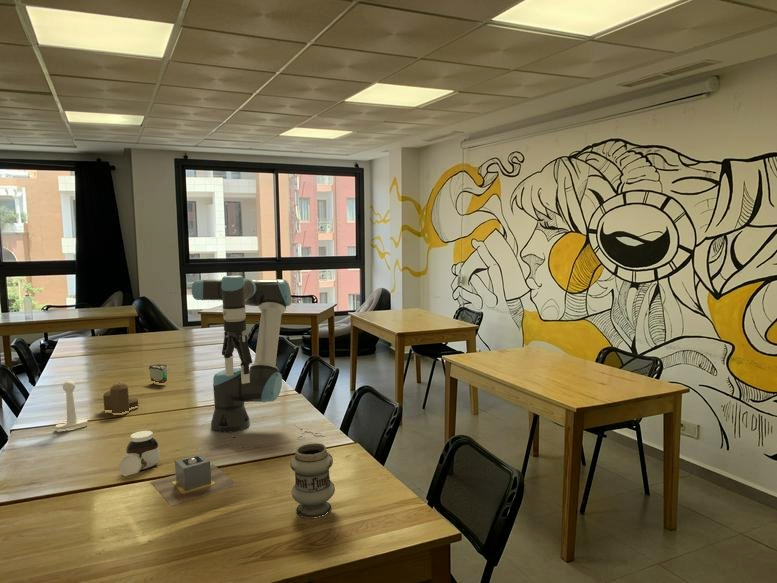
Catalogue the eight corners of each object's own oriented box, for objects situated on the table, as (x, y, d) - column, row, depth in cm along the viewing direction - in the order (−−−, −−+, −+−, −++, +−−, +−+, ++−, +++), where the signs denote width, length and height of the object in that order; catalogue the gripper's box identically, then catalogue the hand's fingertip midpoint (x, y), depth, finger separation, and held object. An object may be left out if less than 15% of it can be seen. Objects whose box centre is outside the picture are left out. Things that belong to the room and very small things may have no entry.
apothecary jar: (283, 510, 153) (281, 448, 151) (317, 495, 162) (315, 436, 160) (309, 525, 145) (306, 460, 143) (344, 509, 153) (342, 447, 151)
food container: (174, 384, 288) (173, 365, 287) (164, 386, 282) (163, 368, 281) (159, 381, 294) (158, 362, 293) (149, 383, 289) (148, 365, 288)
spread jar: (160, 460, 189) (158, 428, 187) (159, 473, 178) (157, 439, 177) (122, 466, 184) (119, 433, 183) (118, 480, 174) (116, 445, 173)
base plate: (150, 486, 169) (150, 481, 169) (213, 468, 182) (212, 463, 181) (171, 511, 154) (170, 505, 153) (238, 489, 166) (237, 484, 166)
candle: (137, 413, 240) (135, 380, 239) (103, 418, 235) (100, 384, 233) (138, 405, 253) (136, 373, 251) (105, 409, 247) (103, 377, 246)
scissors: (298, 441, 204) (284, 424, 222) (298, 443, 204) (284, 426, 222) (325, 436, 208) (309, 420, 226) (325, 437, 209) (309, 421, 226)
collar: (176, 482, 168) (174, 460, 167) (201, 474, 173) (200, 453, 172) (185, 491, 162) (183, 468, 161) (211, 483, 167) (210, 461, 166)
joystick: (57, 433, 217) (53, 384, 215) (55, 428, 223) (51, 380, 221) (88, 427, 224) (84, 379, 222) (85, 422, 230) (82, 376, 228)
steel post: (187, 483, 168) (185, 458, 167) (196, 480, 170) (195, 455, 169) (190, 486, 165) (189, 461, 165) (200, 483, 167) (198, 458, 166)
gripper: (210, 317, 197) (213, 374, 200) (239, 325, 178) (242, 388, 180) (230, 315, 202) (233, 370, 204) (260, 322, 183) (263, 384, 185)
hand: (237, 379), depth 192 cm, fingers open, 13 cm apart
